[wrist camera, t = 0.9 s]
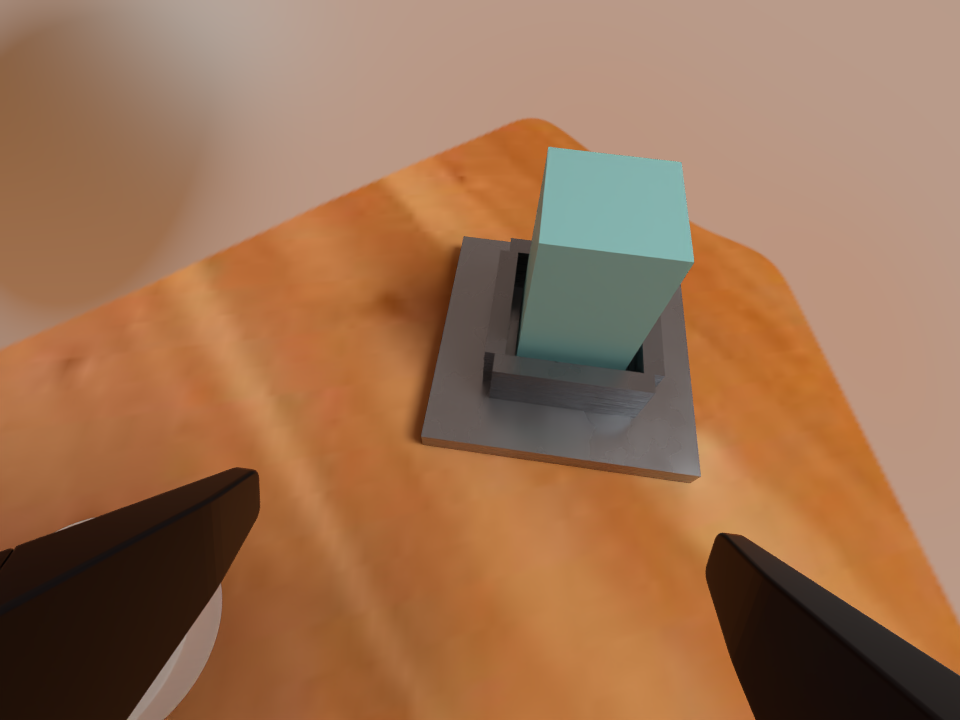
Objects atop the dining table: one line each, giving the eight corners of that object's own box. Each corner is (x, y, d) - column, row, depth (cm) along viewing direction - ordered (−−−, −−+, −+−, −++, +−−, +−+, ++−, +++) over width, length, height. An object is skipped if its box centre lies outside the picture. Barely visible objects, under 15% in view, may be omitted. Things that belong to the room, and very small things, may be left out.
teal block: (613, 388, 25) (694, 262, 16) (513, 374, 25) (538, 243, 16) (612, 307, 27) (681, 162, 19) (522, 295, 28) (548, 147, 19)
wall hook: (-519, 748, 10) (-41, 412, 14) (-77, 691, 18) (144, 489, 23) (-407, 1125, 8) (125, 592, 12) (42, 864, 16) (263, 604, 20)
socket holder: (690, 483, 23) (731, 457, 20) (422, 444, 24) (415, 413, 20) (671, 275, 30) (699, 228, 27) (463, 249, 31) (463, 199, 27)
